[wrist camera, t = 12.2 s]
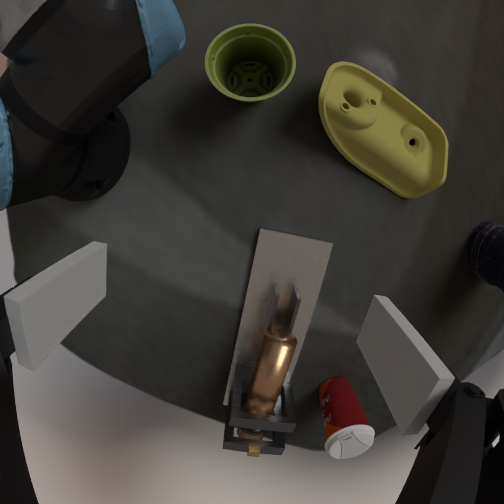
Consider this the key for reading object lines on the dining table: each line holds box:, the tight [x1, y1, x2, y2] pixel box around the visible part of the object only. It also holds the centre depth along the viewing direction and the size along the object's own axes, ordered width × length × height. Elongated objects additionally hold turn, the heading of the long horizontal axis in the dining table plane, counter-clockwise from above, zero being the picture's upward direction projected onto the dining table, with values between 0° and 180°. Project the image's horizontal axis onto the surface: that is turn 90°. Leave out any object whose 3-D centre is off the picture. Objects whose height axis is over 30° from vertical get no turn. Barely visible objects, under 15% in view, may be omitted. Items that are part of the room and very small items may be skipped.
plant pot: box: [205, 24, 296, 102], centre depth 30 cm, size 9×9×9 cm
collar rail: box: [223, 227, 333, 457], centre depth 38 cm, size 32×10×13 cm, turn 169°
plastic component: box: [319, 62, 448, 198], centre depth 34 cm, size 20×7×10 cm
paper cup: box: [319, 377, 375, 459], centre depth 41 cm, size 8×8×14 cm
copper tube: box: [237, 329, 297, 440], centre depth 40 cm, size 20×5×5 cm, turn 169°
